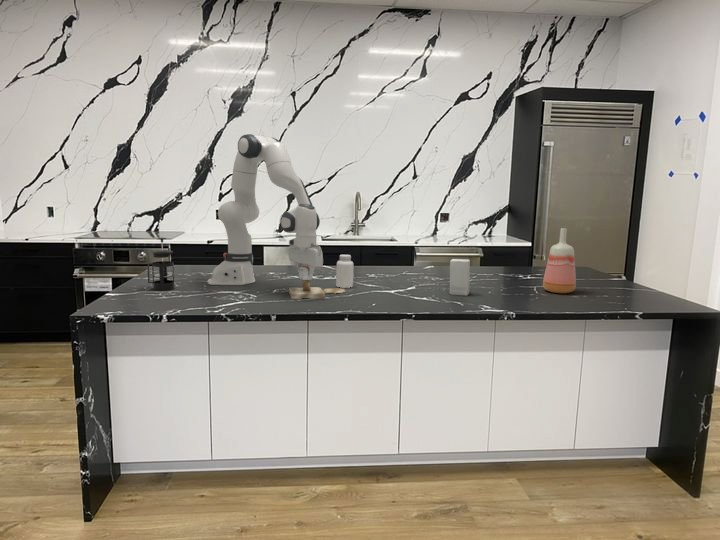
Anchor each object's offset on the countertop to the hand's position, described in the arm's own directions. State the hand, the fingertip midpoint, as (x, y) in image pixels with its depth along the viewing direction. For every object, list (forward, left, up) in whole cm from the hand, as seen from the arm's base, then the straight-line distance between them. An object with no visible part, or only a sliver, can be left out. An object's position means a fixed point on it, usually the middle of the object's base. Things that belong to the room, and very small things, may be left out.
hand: (305, 274), depth 237 cm
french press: (-62, +21, -9) cm, 66 cm away
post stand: (0, 0, -9) cm, 9 cm away
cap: (0, 0, -2) cm, 2 cm away
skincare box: (+68, -6, -9) cm, 69 cm away
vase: (+117, -7, -9) cm, 118 cm away
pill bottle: (+20, +17, -9) cm, 28 cm away
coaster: (+13, +6, -9) cm, 17 cm away
